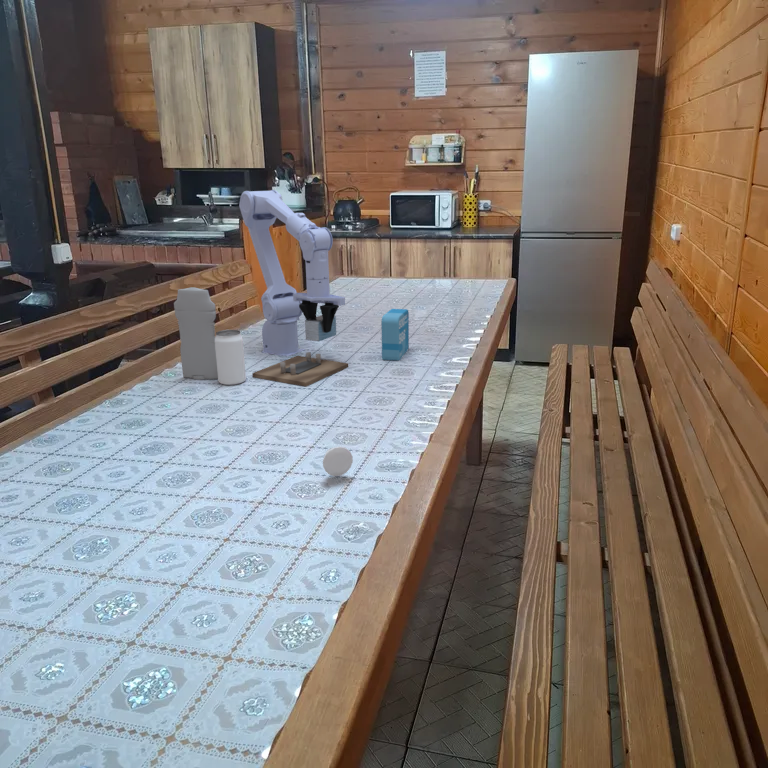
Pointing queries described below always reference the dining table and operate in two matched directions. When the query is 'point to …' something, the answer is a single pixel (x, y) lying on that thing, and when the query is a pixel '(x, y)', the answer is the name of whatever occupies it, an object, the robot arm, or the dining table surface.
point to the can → (230, 357)
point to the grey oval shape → (337, 461)
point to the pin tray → (301, 370)
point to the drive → (318, 329)
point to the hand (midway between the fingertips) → (320, 331)
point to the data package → (395, 334)
